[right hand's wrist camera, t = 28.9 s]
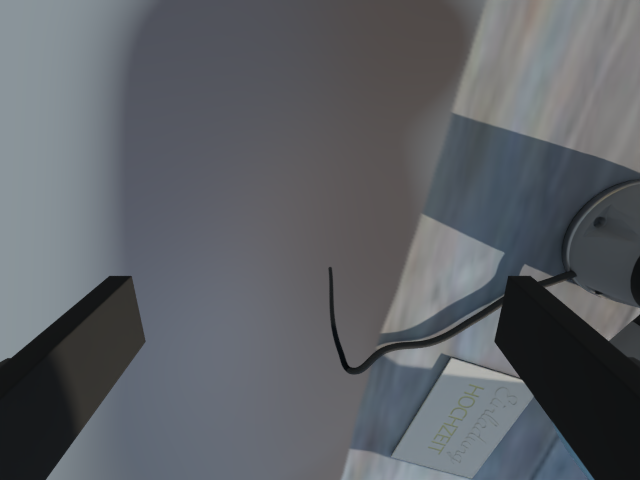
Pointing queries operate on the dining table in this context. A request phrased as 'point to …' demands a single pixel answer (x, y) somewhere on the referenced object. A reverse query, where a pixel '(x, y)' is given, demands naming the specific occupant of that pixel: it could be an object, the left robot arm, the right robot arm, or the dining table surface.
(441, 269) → the dining table surface
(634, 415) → the right robot arm
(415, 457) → the invitation card
